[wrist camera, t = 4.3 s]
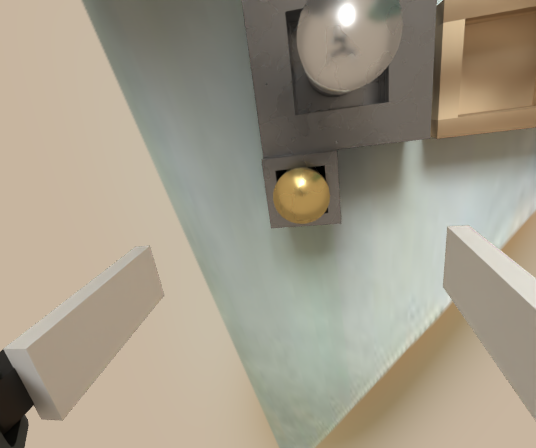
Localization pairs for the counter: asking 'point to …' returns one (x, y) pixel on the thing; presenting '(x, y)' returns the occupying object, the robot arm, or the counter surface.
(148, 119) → the counter surface
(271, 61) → the socket block
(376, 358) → the counter surface
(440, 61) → the tray
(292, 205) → the gold rounded cylinder
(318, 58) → the shiny silver rounded cylinder
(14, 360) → the robot arm
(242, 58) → the counter surface
